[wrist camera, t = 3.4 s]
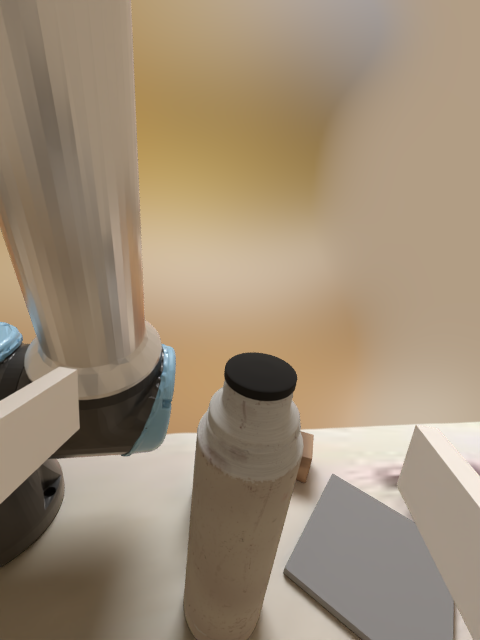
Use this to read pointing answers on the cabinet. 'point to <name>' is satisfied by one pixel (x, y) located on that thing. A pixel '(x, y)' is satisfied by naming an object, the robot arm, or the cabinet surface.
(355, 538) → the gray mat
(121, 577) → the cabinet surface
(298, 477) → the walnut block
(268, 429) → the thermos bottle
